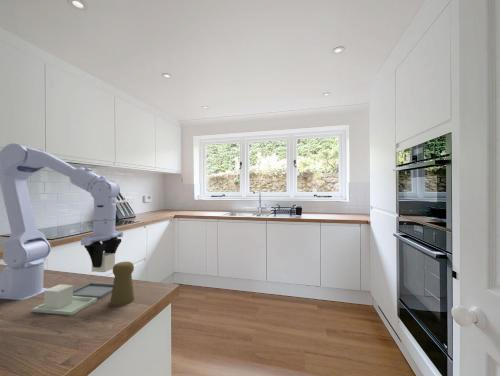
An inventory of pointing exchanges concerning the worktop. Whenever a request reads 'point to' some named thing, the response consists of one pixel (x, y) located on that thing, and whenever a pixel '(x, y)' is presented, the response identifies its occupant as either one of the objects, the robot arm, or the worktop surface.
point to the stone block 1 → (58, 296)
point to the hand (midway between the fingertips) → (103, 264)
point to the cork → (122, 284)
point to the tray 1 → (68, 306)
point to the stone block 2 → (105, 263)
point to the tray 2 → (93, 290)
